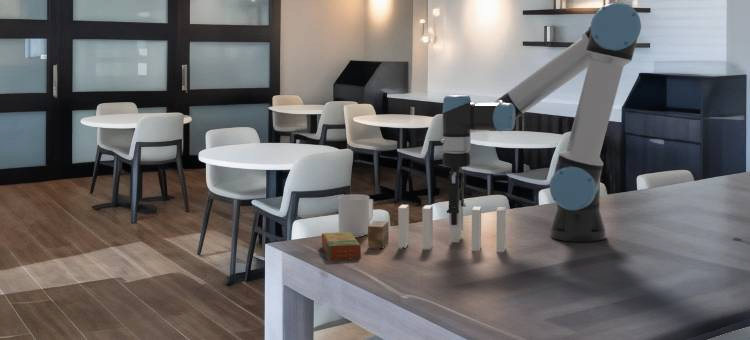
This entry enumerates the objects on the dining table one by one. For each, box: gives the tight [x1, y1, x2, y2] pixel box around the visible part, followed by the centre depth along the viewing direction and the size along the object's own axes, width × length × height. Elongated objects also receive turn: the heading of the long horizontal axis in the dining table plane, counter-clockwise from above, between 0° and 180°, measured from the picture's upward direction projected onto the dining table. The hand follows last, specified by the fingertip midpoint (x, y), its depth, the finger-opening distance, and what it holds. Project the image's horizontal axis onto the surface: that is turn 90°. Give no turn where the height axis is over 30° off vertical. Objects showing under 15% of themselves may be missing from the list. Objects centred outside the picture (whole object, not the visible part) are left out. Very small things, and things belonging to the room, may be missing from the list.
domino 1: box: [397, 204, 410, 249], centre depth 233 cm, size 2×5×11 cm, turn 168°
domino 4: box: [471, 206, 482, 252], centre depth 229 cm, size 2×5×11 cm, turn 168°
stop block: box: [367, 220, 390, 249], centre depth 234 cm, size 4×8×6 cm, turn 168°
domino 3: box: [451, 200, 462, 243], centre depth 240 cm, size 2×5×11 cm, turn 168°
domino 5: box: [496, 206, 507, 253], centre depth 227 cm, size 2×5×11 cm, turn 168°
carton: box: [321, 232, 362, 261], centre depth 227 cm, size 8×16×4 cm, turn 11°
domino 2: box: [421, 204, 434, 250], centre depth 231 cm, size 2×5×11 cm, turn 168°
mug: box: [337, 193, 374, 236], centre depth 250 cm, size 12×9×11 cm
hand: (456, 233), depth 240 cm, fingers open, 8 cm apart
